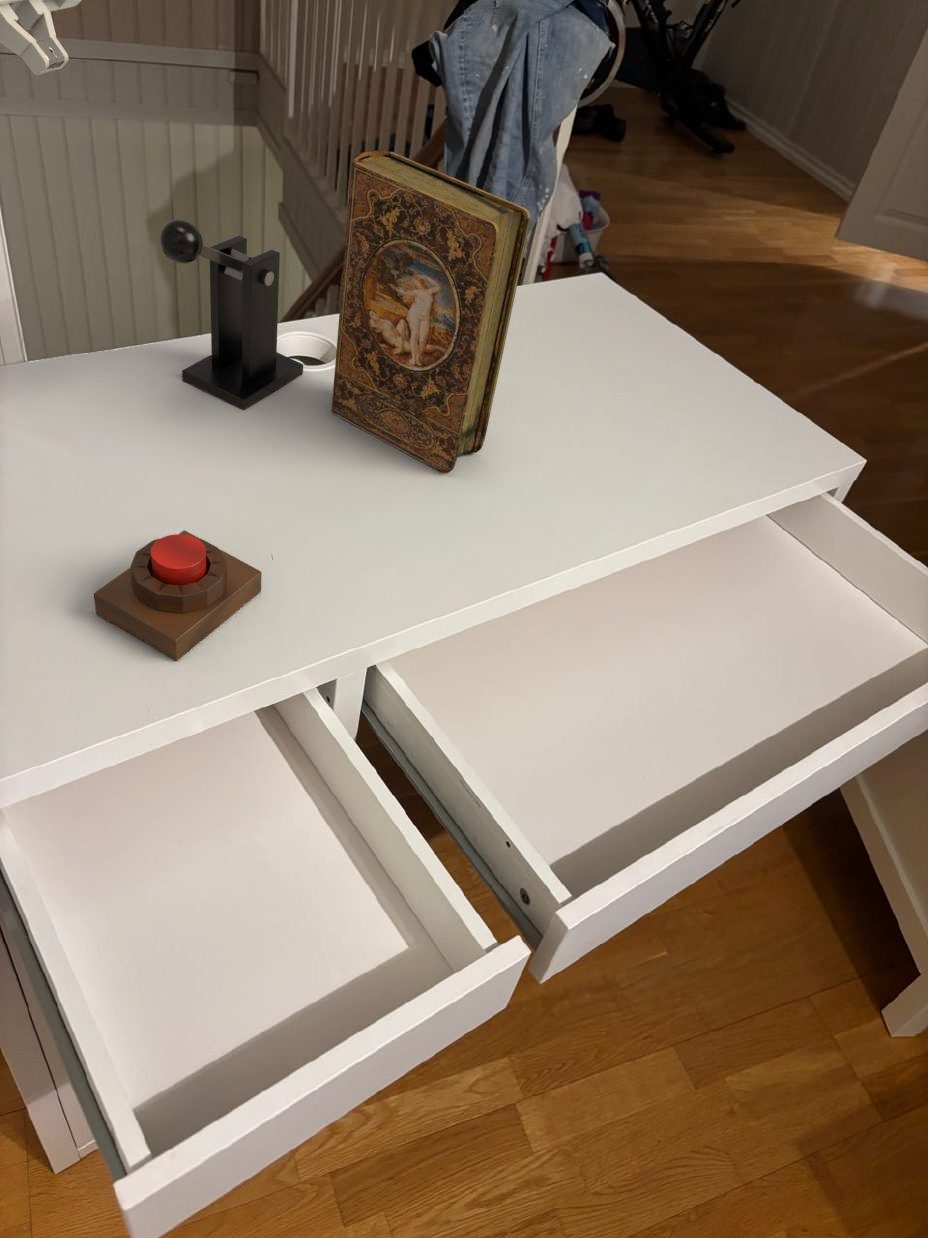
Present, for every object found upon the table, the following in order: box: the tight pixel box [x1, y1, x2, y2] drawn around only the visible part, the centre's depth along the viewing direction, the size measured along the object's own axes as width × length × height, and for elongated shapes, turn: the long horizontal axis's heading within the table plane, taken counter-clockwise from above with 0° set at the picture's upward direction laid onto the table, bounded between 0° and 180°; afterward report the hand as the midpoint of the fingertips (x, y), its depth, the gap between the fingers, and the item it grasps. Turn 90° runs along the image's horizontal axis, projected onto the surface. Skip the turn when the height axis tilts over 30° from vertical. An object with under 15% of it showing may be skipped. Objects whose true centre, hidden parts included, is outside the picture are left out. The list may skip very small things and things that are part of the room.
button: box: [151, 533, 206, 585], centre depth 72 cm, size 4×4×2 cm
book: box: [331, 150, 531, 474], centre depth 89 cm, size 16×6×25 cm, turn 56°
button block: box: [92, 529, 263, 661], centre depth 74 cm, size 10×8×4 cm
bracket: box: [181, 235, 304, 411], centre depth 95 cm, size 10×8×14 cm
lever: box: [159, 218, 253, 281], centre depth 87 cm, size 13×4×4 cm, turn 151°
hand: (53, 67), depth 76 cm, fingers closed
